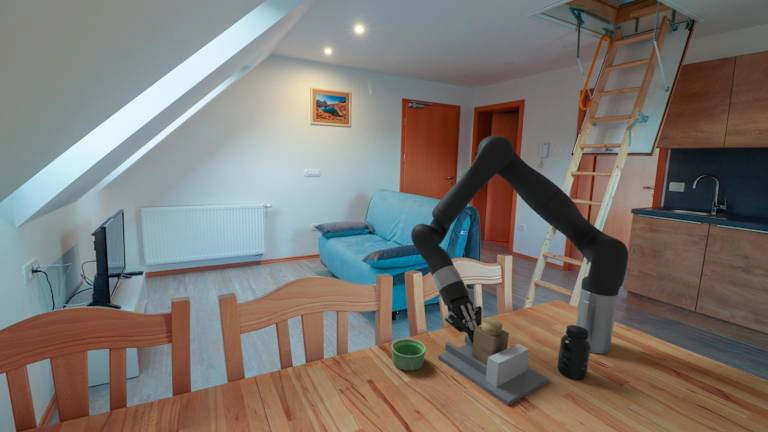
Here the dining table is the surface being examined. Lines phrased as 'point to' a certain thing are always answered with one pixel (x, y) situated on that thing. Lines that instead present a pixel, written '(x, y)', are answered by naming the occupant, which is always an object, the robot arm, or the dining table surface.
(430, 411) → the dining table surface
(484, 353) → the brown bottle-shaped block
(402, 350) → the ramekin
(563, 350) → the supplement bottle
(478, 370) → the mount
